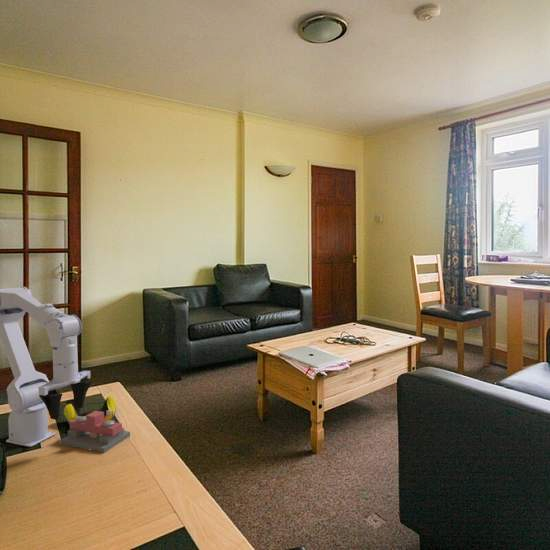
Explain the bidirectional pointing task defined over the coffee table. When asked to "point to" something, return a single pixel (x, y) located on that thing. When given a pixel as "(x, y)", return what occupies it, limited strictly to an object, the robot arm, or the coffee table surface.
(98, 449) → the display stand
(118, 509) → the coffee table surface
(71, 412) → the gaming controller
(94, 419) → the frame bar
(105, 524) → the coffee table surface
